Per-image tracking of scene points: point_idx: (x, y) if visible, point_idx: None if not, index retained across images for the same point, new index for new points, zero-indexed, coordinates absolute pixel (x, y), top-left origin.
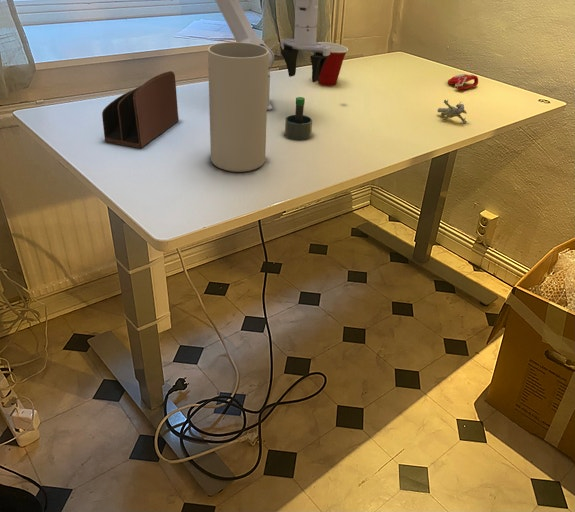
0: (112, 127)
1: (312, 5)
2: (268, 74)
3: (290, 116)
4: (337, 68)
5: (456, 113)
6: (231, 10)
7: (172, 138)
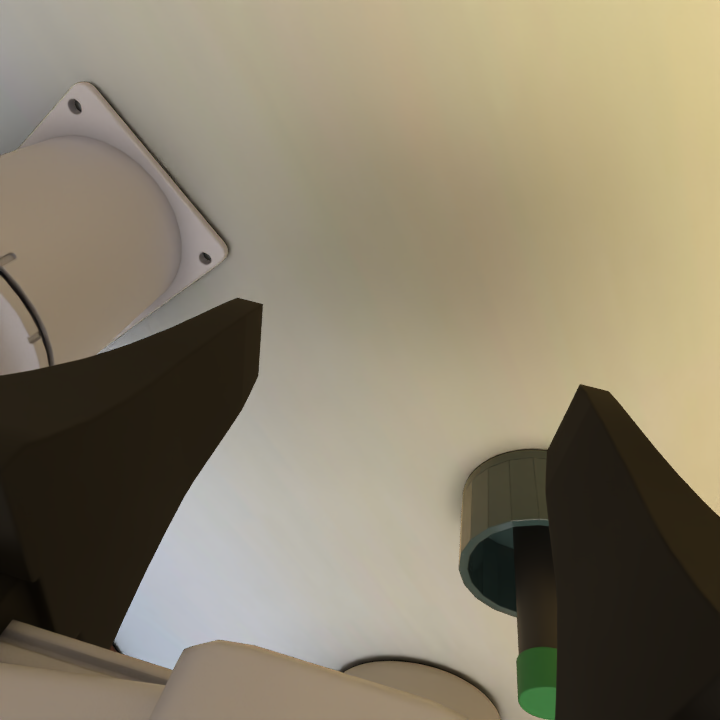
0: None
1: None
2: (20, 333)
3: (474, 546)
4: None
5: None
6: None
7: (147, 632)
